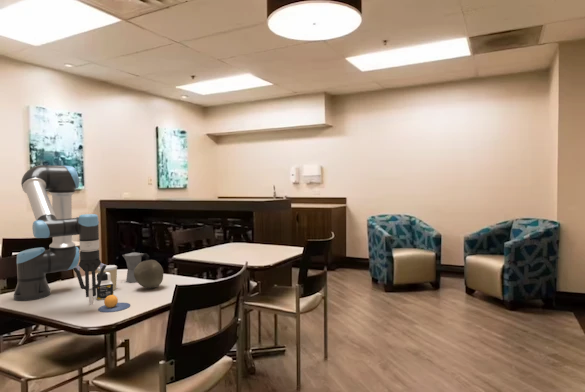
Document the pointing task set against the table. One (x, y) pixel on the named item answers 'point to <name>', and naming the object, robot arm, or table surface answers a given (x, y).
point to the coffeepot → (133, 264)
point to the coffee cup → (111, 273)
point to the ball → (110, 301)
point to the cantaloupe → (149, 274)
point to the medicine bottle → (104, 286)
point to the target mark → (117, 308)
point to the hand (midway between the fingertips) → (91, 304)
